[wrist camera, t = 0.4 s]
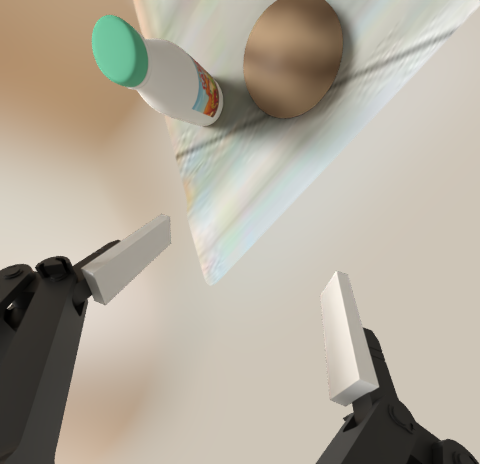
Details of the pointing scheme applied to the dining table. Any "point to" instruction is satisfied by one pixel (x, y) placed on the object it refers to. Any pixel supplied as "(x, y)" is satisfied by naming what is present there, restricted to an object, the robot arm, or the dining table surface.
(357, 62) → the dining table surface
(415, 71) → the dining table surface
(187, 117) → the milk bottle
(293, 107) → the brown round coaster
